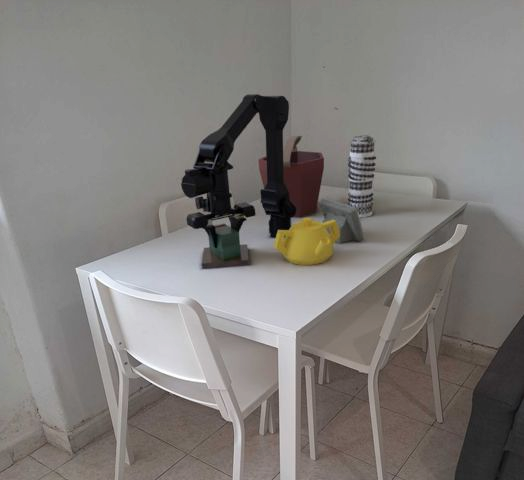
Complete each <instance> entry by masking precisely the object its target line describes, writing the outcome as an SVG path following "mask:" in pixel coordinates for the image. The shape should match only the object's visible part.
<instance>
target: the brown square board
mask: <svg viewBox="0 0 524 480" xmlns="http://www.w3.org/2000/svg"><path fill="white" fill-rule="evenodd" d="M240 250H241V256H237V257H233V258H230V259H226V260H223V259H221V258H220V257H218V256H217V255H215V254H214V253H212V252H211V251H210V246H209V247H203V252H202V260H201V268H202V269H214V268H215V269H216V268H228V267H229V268H230V267H241V266H250V261H249V259H250V258H249V249H248V244H246V243H245V244H240Z"/></svg>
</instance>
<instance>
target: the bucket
mask: <svg viewBox="0 0 524 480" xmlns="http://www.w3.org/2000/svg"><path fill="white" fill-rule="evenodd" d="M302 138H303V136H302V135H291V136H289V137H288V138H287V139H286V141H285V145H284V147H283V174H284V184H285V185H286V187H287V189H288V191H289V198H290V201H291V202H292V204H293V205H294V206H295V207H296V208H297V209H296V215H294V216H293V217H292V218H302V217H303V218H304V217H305V216H309V215H313V214H316V213H317V208H318V203H319V196H320V193H321V186H322V180H323V175H324V170H325V157H324V155H323V153H322V152H319V151H318V152H317V151H304V150H298V144H299V143H300V142H301V140H302ZM258 170H259V173H260V178H261V181H262V185H263V189H264V188H265V186H266V184H267V161H266V155H265V156H262V157H260V158H259V159H258Z"/></svg>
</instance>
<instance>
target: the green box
mask: <svg viewBox="0 0 524 480" xmlns="http://www.w3.org/2000/svg"><path fill="white" fill-rule="evenodd" d="M214 226H215V229H216V240H217V248H215V247H214V246H213V244H212V242H211V240H210V238H209V236H208V235H207V237H208V245H209V247H210V251H211V252H212V253H214V254H215V255H217V256H218V257H220V258H221V259H223V260H226V259H230V258H233V257H237V256H241V250H240V245H241V241H240V240H241V239H240V231H237V230H235V229H233V228H231V226H230V225H228V224H226V223H219V224H216V225H214Z"/></svg>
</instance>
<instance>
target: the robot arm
mask: <svg viewBox="0 0 524 480" xmlns="http://www.w3.org/2000/svg"><path fill="white" fill-rule="evenodd" d="M289 112H290V103H289V100H288V99H287V98H286V96H285V95H261V94H258V93H248V94H245V95H244V96H243V98H242V101H241V102H240V103H239V104H238V106H237V107H236V108H235V109H234V110H233V111H232V113H231V114H230V116H229V117H228V118H227V120H225V122H224V123H223V124H222V125H221V127H220V128H219V129H218V130H216V131H213V132H212V133H209V135H207V136H206V137H205V138H204V139H203V140H201V142H200V143H199V146H198V148H199V149H198V151H197V155H196V158H195V160H194V163H193V168H188V169H185V170H184V175H183V177H182V178H181V183H180V186H181V190H182V192H183V194H184V196H186V197H187V198H189V199H194V202H195V203H194V204H195V208H196V210H202V211H203V212H204V213H206V212H207V214H204V213H202V212H201V211H197V212H193V213H189V214H187V216H186V225H188V226H189V227H190V228H192V229H194V230H199V229H203V230H204V231H205V233H206V234H207V237H208V236H209V237H208V239H209V238H210V240H211V242H212V244H213V246H214V247H215V248H217V240H216V229H215V225H214V224H213V221H217V220H222V219H225V218H228V220H229V223H230V227H231V228H233V229H235V230H237V231H239V232H240V231H241V229H242V227H243V225H244V222H246V221H247V218H252V217H255V216H256V208H255V206H254V205H253V204H250V203H248V202H240V203H235V204H234V205H233V208H232V204H231V198H233V194H232V193H231V192H230V181H229V173H228V171H229V170H233V169H234V166H233V165H232V164H231V163H230V162H229V159H230V157H231V155H232V154H233V152H234V149H235V143H236V140H237V139H238V138H239V137H240V136H241V134H242V133H243V132H244V130H245V129H246V128H247V126H249V124H250V123H251V121H252V120H253V119H254V118H255V117H256V116H257V114H258V116H259V117H258V118H259V122H260V123H261V125H262V127H263V129H264V131H265V156H266V161H267V184H266V186H265V188H264V187H263V188H262V189H260V202H259V203H261V206H262V208H263V210H264V214H265V215H266V216H270V217H269V220H268V233H269V237H270V238H276V235H277V231H278V230H289V229H290V228H291V226H292V218H294V217H293V216H294V215H296V209H297V208H296V207H295V206H294V205H293V204H292V202H291V201H290V198H289V191H288V189H287V187H286V185H285V184H284V174H283V150H284V129H285V127H286V125H287V123H288V120H289ZM203 195H205V196H206V198H205V197H204V196H203ZM284 238H285V235H284Z"/></svg>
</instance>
